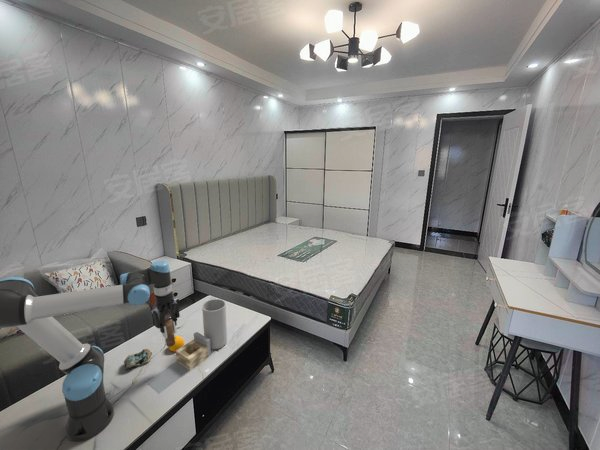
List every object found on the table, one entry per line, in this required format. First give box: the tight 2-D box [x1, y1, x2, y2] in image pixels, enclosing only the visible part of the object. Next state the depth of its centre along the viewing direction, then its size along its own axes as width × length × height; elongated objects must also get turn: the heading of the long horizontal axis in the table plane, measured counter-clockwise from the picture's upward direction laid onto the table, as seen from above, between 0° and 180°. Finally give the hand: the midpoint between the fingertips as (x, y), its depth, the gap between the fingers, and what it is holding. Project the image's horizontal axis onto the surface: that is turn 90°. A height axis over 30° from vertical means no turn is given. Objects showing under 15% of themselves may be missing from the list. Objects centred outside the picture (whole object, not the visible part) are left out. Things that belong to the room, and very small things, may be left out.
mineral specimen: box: [123, 348, 153, 371], centre depth 136 cm, size 12×9×8 cm
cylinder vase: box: [201, 298, 228, 351], centre depth 150 cm, size 12×12×25 cm
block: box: [175, 338, 209, 371], centre depth 138 cm, size 11×11×6 cm
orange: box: [168, 335, 185, 353], centre depth 146 cm, size 8×8×8 cm
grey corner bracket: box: [145, 331, 212, 394], centre depth 132 cm, size 29×11×11 cm, turn 148°
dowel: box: [164, 316, 175, 348], centre depth 130 cm, size 4×4×14 cm
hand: (169, 334), depth 130 cm, fingers closed on dowel, 4 cm apart
